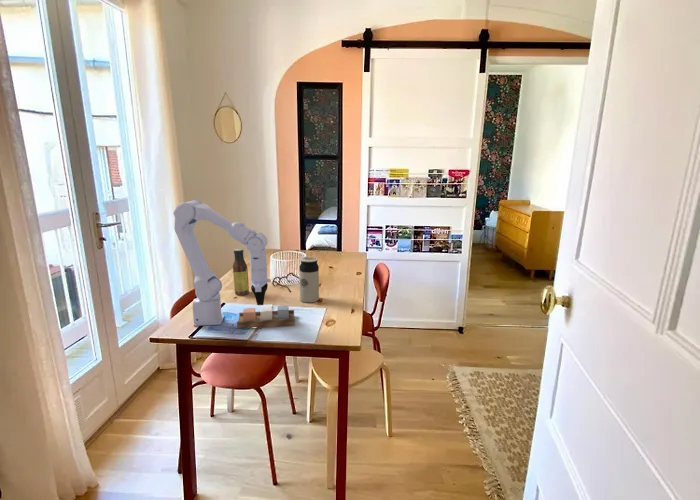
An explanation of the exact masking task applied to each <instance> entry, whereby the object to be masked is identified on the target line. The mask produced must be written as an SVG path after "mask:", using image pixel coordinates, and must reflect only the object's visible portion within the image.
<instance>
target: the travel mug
mask: <svg viewBox="0 0 700 500" xmlns="http://www.w3.org/2000/svg"><path fill="white" fill-rule="evenodd" d="M318 260H319V259H318V257H317V256H316V257H315V256H303V257H300V258H299V261H300V265H299V270H298V271H299V278H300V279H299V300H300V301H301V302H303V303H307V304H308V303H310V304H311V303H315V302H317V301H319V299H320V291H319V290H320V285H319V284H320V283H319V282H320V277H319V276H320V273H319V272H320V271H319V269H320V268H319V267H320V266H319V263H318Z"/></svg>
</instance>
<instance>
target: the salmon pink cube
mask: <svg viewBox="0 0 700 500" xmlns="http://www.w3.org/2000/svg"><path fill="white" fill-rule="evenodd" d="M256 312H257V311H256V308H255V307H252V308H251V307H250V308H243V321H255V318H256Z"/></svg>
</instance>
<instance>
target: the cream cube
mask: <svg viewBox="0 0 700 500" xmlns="http://www.w3.org/2000/svg"><path fill="white" fill-rule="evenodd" d="M272 311H273V306H272V307H271V306H270V307H269V306H268V307H267V306H266V307H260V310H259V312H260V315H261V320H272Z"/></svg>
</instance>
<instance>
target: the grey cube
mask: <svg viewBox="0 0 700 500" xmlns="http://www.w3.org/2000/svg"><path fill="white" fill-rule="evenodd" d="M289 307H290V306H289V305H277V309H276V311H277V312H278V319H289V310H290V309H289Z"/></svg>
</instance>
